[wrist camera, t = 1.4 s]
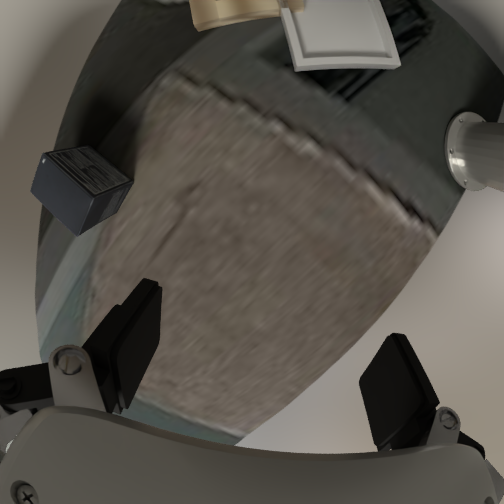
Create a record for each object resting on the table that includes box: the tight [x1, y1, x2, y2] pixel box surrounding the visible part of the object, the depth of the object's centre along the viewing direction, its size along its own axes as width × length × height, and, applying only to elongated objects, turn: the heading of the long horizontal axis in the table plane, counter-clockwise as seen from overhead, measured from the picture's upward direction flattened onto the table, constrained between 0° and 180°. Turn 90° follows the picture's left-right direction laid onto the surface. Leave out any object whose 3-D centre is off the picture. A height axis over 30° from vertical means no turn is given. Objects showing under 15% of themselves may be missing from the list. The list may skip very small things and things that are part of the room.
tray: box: [279, 0, 401, 71], centre depth 24 cm, size 14×14×2 cm
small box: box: [30, 145, 134, 237], centre depth 30 cm, size 11×6×10 cm, turn 51°
